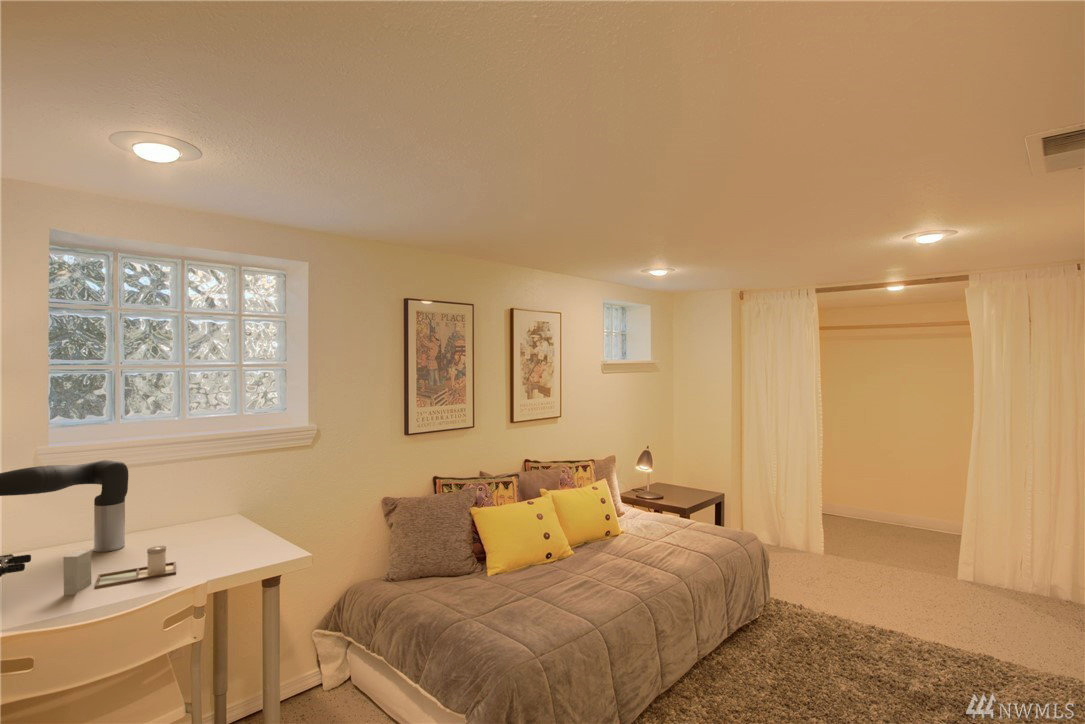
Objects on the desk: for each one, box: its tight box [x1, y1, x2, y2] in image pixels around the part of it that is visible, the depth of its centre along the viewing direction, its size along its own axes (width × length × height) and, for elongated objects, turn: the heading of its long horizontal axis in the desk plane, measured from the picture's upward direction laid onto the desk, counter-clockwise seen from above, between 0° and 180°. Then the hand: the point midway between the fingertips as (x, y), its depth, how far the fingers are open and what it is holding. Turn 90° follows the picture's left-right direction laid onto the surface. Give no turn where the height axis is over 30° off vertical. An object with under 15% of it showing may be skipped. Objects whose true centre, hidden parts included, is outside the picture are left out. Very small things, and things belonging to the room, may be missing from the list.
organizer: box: [94, 561, 177, 589], centre depth 183 cm, size 11×21×2 cm, turn 124°
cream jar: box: [146, 545, 167, 575], centre depth 185 cm, size 5×5×8 cm
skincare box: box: [62, 549, 92, 596], centre depth 172 cm, size 6×4×12 cm
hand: (27, 562), depth 166 cm, fingers open, 8 cm apart
